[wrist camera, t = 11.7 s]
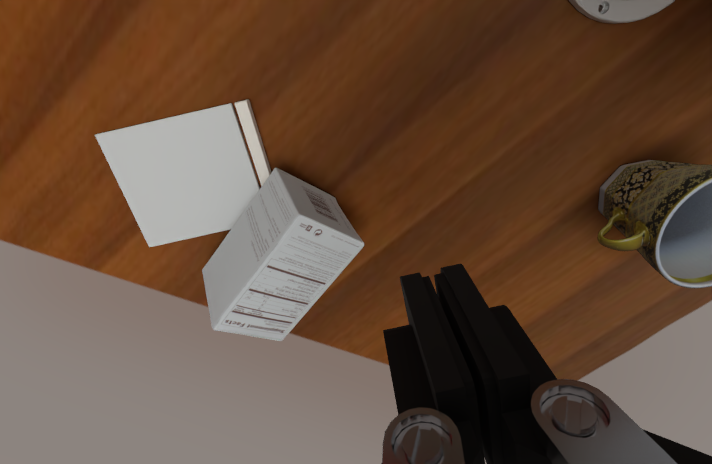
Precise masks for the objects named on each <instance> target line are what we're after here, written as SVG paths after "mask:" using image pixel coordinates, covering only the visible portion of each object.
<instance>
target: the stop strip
mask: <svg viewBox="0 0 712 464" xmlns="http://www.w3.org/2000/svg"><path fill="white" fill-rule="evenodd" d="M235 106H236V109H237V112H238V116H239V119H240V122H241V125H242V128H243V131H244V134H245V137H246V140H247V143H248V146H249V149H250V152H251V155H252V158H253V161H254V165H255V168H256V171H257V174H258V177H259V180H260V183H261V186H262V185H263V184H264V183H265V181H266V180H267V178H268V177H269V176H270V174H271V173H272V172H271V169H270V165H269V162H268V159H267V156H266V153H265V149H264V146H263V143H262V140H261V136H260V133H259V130H258V127H257V124H256V120H255V117H254V114H253V111H252V107H251V104H250V101H249V99H247V100H243V101H238V102H236V103H235Z"/></svg>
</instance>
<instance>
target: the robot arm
mask: <svg viewBox="0 0 712 464" xmlns="http://www.w3.org/2000/svg"><path fill="white" fill-rule="evenodd" d="M674 1H675V0H569V2H570V3H571V4H572V5H573V6H574V7H575V8H576V9H577V10H578V11H579V12H581V13H582V14H584V15H585V16H587V17H588V18H590V19H593V20H596V21H599V22H603V23H613V24H616V23H628V22H632V21H637V20H641V19H644V18H647V17H649V16H651V15H653V14H656V13H658V12H659V11H661V10H663V9H664V8H666V7H667V6H669V5H670V4H672V3H673V2H674ZM598 8H599V10H598ZM434 278H435V285H436V291H437V294H436V292H435V289H434V287H433V285H432V282H431V280H430V278H429V276H427V277H421V274H420V273H415V274H410V275H406V276H401V277H400V281H401V286H402V291H403V296H404V301H405V306H406V311H407V316H408V321H409V325H406V326H401V327H397V328H392V329H387V330H383V332H384V338H385V344H386V349H387V355H388V360H389V366H390V371H391V377H392V382H393V387H394V393H395V399H396V404H397V409H398V416H397V417H395V418H394V419H393V420H392V421H391V422H390V424H389V426H388V428H387V429H386V431H385V435H384V440H383V458H382V464H485V460H486V463H487V464H712V456H709V455H707V454H704V453H702V452H699V451H697V450H694V449H691V448H689V447H686V446H684V445H681V444H679V443H676V442H674V441H671V440H668V439H666V438H663V437H661V436H658V435H656V434H653V433H650V432H648V431H645V430H643V429H641V428H640V427H639V426H638V425H637V424H636V423H635V422H634V421H633V420H632V419H631V418H630V417H629V416H628V415H627V414H626V413H625V412H624V411H623V410H622V409H621V408H619V406H618V405H617V404H615V403H614V402H613V401H612V400H611V399H610V398H609V397H608V396H607V395H606V394H604V393H603V392H602V391H600V390H599V389H597V388H595V387H593V386H591V385H589V384H587V383H584V382H580V381H576V380H571V379H557V378H556V377H555V375H554V374H553V373H552V371H551V370H550V368H549V367H548V365H547V364H546V362H545V361H544V359H543V358H542V357H541V355H540V354H539V352H538V351H537V349H536V348H535V346H534V345H533V343H532V342H531V341H530V339H529V338H528V336H527V335H526V333H525V332H524V330H523V329H522V327H521V326H520V325H519V323H518V322H517V320H516V319H515V317H514V316H513V314H512V313H511V311H510V310H509V309H508V308H507V306H505V305H501V306H496V307H491V308H489V307H488V306H487V304H486V302H485V301H484V299H483V297H482V296H481V294H480V293H479V291H478V289H477V288H476V286H475V284H474V283H473V281H472V279H471V278H470V276H469V275H468V273H467V271H466V270H465V268H464V266H463V265H462V264H457V265H452V266H447V267H443V268H441V273H440V274H436V275H434ZM484 457H485V460H484Z"/></svg>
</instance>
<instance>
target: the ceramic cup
mask: <svg viewBox="0 0 712 464" xmlns="http://www.w3.org/2000/svg"><path fill="white" fill-rule="evenodd" d="M598 209H599V211H600V213H601V214H602V215H604V216H605V217H606V218H607V219H608V220H609V221H608V224H607V225H606V226H605V227H604V228H602V229H601V230H600V232H599V233H598V241H599V243H600V244H602V245H603V246H605V247H608V248H610V249H614V250H619V251H633V250H637V251H638V252H639V253H640V254H641V255H642V256H643V257H644V258H645V260H646V261H647V262H648V263H649V264H650V265H651V266H652V267H653V268H654V269H655V270H656V271H658V272H659V273H660V274H661V275H662V276H663V277H664V278H665V279H667V280H668V281H669V282H671V283H673V284H675V285H678V286H681V287H686V288H704V287H710V286H712V165H696V164H689V163H677V162H666V161H656V160H646V161H641V162H636V163H631V164H626V165H622V166H620V167H619V168H618V169H617V170H616V171H615V172H614V173H613V174H612V175H611V176H610V177H609V178H608V180H607V181H606V182H605V183H604V184H603V185H602V186H601V187H600V194H599V207H598ZM613 225H614V226H615V227H616V228H617V229H618V230H619V231H620V232H621V233H622V234H623V235H624V236H625V237H626V239H622V240H609V239H606V238H604V237H603V236H604V235H605V234H606V233H608V232H609V231H610V229H611V228H612V226H613Z"/></svg>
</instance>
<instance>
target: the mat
mask: <svg viewBox="0 0 712 464" xmlns="http://www.w3.org/2000/svg"><path fill="white" fill-rule="evenodd" d="M95 136H96V138H97V141H98V143H99V145H100V147H101V149H102V151H103V153H104V155H105V157H106V159H107V161H108V163H109V165H110V167H111V169H112V171H113V173H114V176H115V178H116V180H117V182H118V184H119V186H120V188H121V190H122V192H123V194H124V196H125V198H126V200H127V202H128V204H129V206H130V209H131V211H132V213H133V215H134V217H135V219H136V221H137V223H138V225H139V227H140V229H141V231H142V233H143V235H144V237H145V239H146V242H147V244H148V246H149V247H153V246H157V245H162V244H166V243H171V242H175V241H180V240H184V239H189V238H193V237H198V236H203V235H207V234H212V233H216V232H221V231H225V230H230V229H232V228H233V226H234V225H235V223H236V222H237V220H238V219H239V218H240V216H241V215H242V214H243V212H244V211H245V209H246V208H247V206H248V205H249V204H250V202H251V201H252V199H253V198H254V197H255V195H256V194H257V192H258V191H259V189H260V187H259V184H258V181H257V178H256V175H255V172H254V169H253V166H252V163H251V160H250V156H249V153H248V150H247V147H246V144H245V141H244V138H243V135H242V132H241V129H240V126H239V123H238V120H237V117H236V114H235V111H234V108H233V105H232V103H230V104H225V105H221V106H217V107H212V108H208V109H204V110H199V111H195V112H191V113H186V114H182V115H178V116H173V117H169V118H165V119H160V120H156V121H152V122H147V123H143V124H139V125H134V126H130V127H126V128H121V129H117V130H113V131H108V132H104V133H100V134H96V135H95Z"/></svg>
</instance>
